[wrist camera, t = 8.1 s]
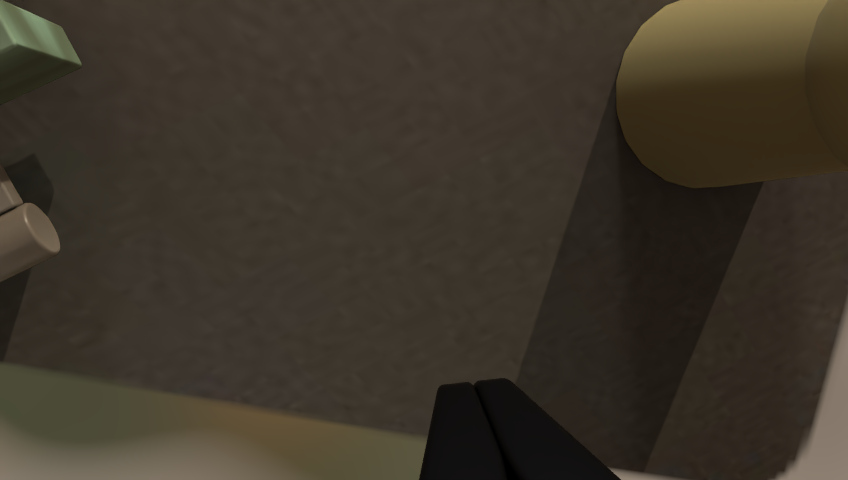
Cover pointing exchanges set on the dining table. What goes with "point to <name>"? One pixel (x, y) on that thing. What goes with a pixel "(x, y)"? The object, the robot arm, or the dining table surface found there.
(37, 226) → the drawer
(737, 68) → the olive rounded upright piece
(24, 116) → the dining table surface
